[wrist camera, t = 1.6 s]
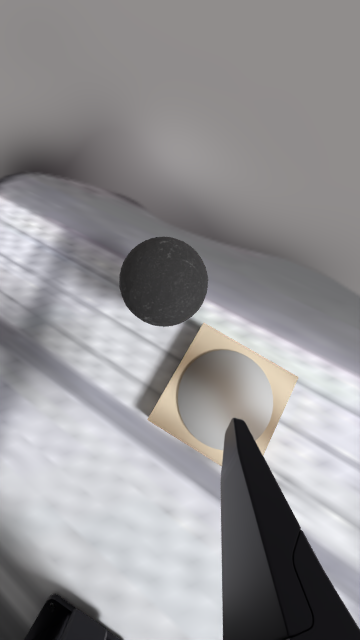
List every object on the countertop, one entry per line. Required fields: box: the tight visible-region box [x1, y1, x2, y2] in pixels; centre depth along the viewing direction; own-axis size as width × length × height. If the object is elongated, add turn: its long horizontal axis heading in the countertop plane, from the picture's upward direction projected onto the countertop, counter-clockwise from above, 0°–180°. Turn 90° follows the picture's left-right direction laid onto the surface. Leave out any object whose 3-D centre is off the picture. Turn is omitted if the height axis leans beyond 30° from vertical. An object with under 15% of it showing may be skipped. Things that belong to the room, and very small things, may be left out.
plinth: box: [148, 323, 298, 466], centre depth 21 cm, size 9×9×2 cm
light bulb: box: [120, 237, 208, 327], centre depth 18 cm, size 6×6×10 cm
